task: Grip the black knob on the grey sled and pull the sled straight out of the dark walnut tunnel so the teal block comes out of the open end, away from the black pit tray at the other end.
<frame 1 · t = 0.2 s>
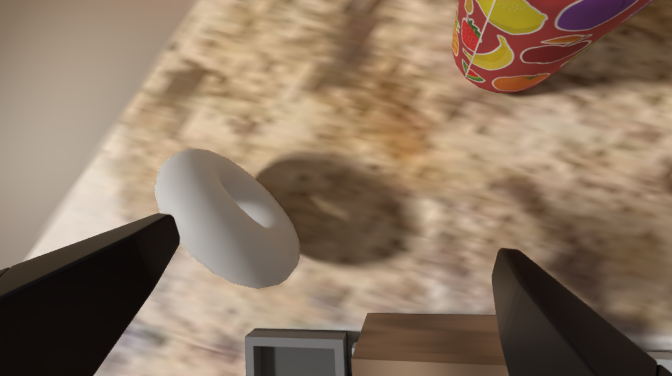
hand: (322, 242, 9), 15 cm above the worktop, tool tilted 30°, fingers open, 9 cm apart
smoothie: (501, 51, 23), on the worktop
donut: (268, 214, 26), on the worktop
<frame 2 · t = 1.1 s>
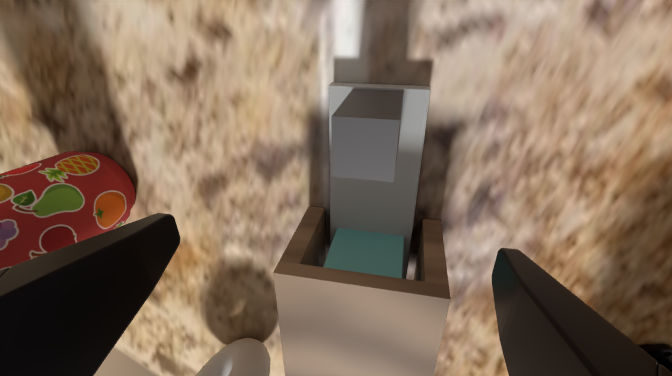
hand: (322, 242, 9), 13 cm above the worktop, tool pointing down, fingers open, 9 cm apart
sled: (365, 256, 21), point 4 cm above the worktop, slide at 0.0 cm
smoothie: (107, 182, 28), on the worktop
donut: (247, 341, 34), on the worktop
tunnel: (369, 267, 26), on the worktop
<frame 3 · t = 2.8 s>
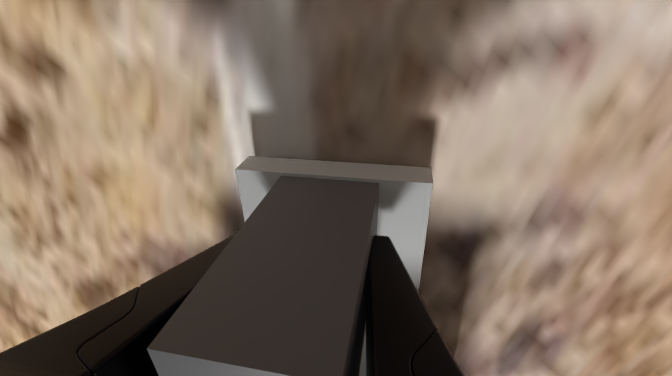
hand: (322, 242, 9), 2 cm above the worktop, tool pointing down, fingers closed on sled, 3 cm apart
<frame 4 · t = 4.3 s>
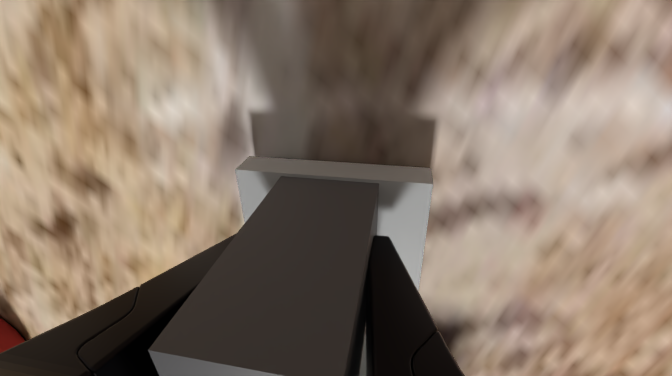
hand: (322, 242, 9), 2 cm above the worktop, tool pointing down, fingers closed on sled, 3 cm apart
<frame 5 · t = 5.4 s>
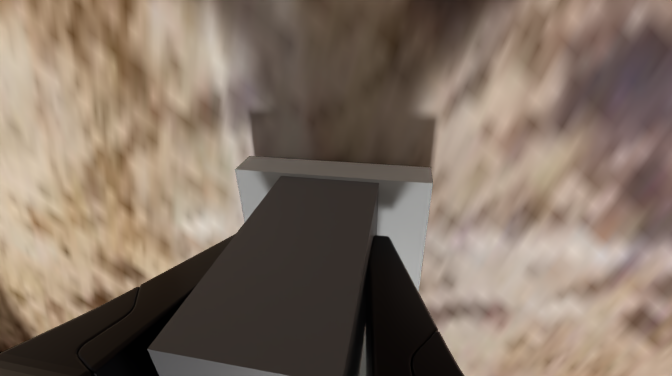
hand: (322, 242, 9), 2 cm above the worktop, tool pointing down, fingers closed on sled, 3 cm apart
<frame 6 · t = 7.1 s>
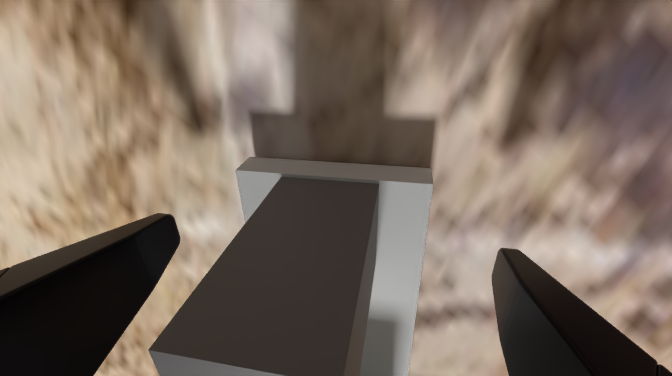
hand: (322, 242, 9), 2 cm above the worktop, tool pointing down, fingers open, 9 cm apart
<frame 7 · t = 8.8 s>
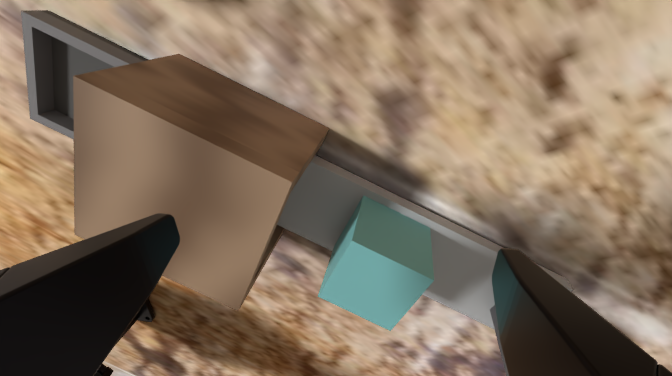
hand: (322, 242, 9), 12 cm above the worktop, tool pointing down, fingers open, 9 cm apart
sled: (406, 275, 20), point 4 cm above the worktop, slide at 9.0 cm
pit: (98, 89, 22), on the worktop
tunnel: (235, 155, 22), on the worktop
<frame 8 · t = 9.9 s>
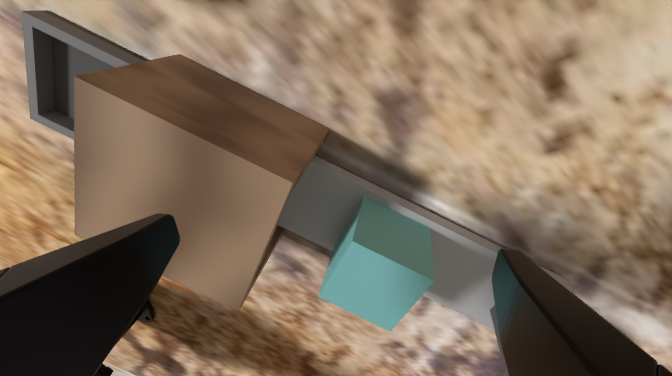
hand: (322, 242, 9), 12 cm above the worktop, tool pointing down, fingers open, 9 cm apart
sled: (406, 275, 20), point 4 cm above the worktop, slide at 9.0 cm
pit: (99, 89, 22), on the worktop
tunnel: (236, 155, 23), on the worktop
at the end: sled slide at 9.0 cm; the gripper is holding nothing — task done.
